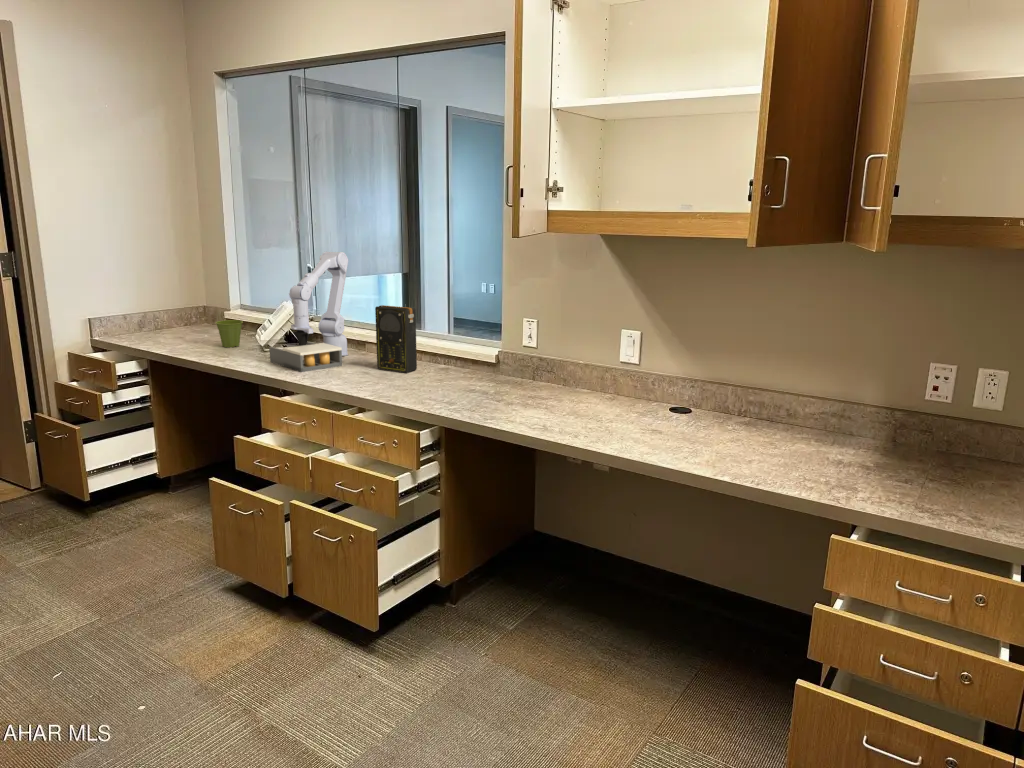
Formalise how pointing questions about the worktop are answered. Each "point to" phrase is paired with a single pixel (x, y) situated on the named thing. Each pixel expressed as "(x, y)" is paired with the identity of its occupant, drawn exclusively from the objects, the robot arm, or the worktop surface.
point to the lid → (312, 349)
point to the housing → (298, 363)
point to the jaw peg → (324, 358)
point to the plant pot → (229, 332)
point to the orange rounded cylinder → (309, 360)
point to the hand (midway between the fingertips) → (303, 348)
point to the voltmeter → (396, 338)
